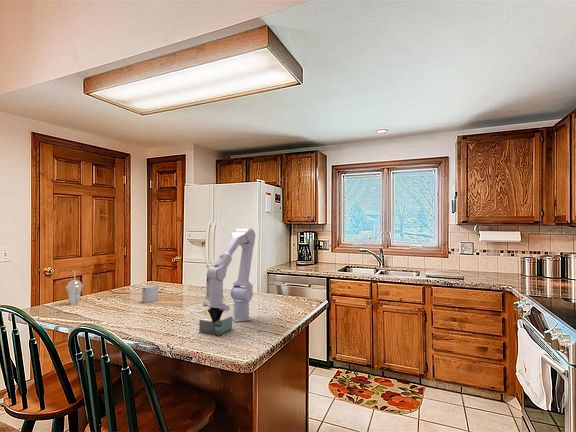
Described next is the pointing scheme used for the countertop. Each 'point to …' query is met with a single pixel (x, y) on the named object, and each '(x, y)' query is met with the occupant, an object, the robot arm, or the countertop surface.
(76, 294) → the cup with straw
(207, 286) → the grey container
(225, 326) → the teal swing leaf
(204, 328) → the fixed steel leaf
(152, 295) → the medicine box
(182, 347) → the countertop surface
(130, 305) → the countertop surface
